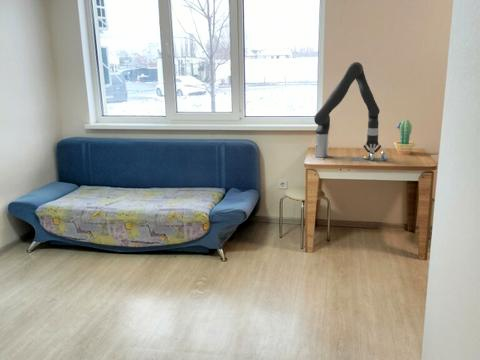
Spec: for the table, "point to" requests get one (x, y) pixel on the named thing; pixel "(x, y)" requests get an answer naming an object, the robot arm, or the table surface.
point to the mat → (363, 159)
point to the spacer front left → (372, 156)
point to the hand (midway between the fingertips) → (371, 158)
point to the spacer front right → (385, 157)
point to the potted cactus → (404, 138)
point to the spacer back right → (382, 154)
